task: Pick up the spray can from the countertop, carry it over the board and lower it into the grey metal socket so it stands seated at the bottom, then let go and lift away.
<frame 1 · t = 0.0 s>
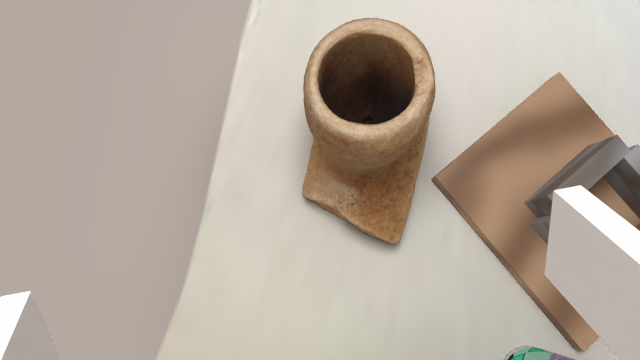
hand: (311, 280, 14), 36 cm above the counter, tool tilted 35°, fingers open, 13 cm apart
socket board: (562, 208, 53), on the counter
tan boot-shaped piece: (354, 150, 52), on the counter
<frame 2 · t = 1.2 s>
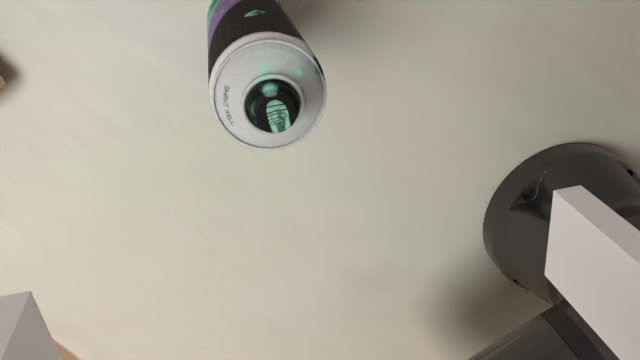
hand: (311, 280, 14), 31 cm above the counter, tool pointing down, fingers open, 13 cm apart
spray can: (245, 19, 41), on the counter
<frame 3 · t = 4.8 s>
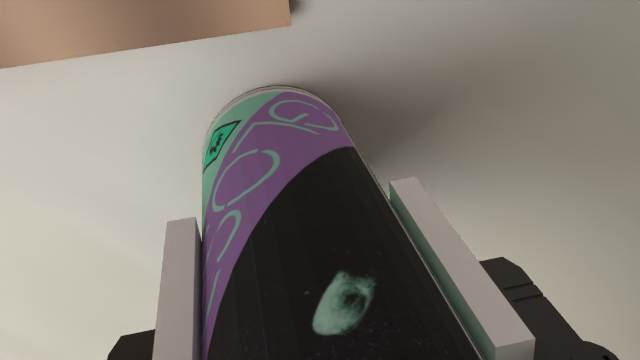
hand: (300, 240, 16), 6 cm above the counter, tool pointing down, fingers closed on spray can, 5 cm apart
spray can: (276, 153, 21), on the counter, touching gripper
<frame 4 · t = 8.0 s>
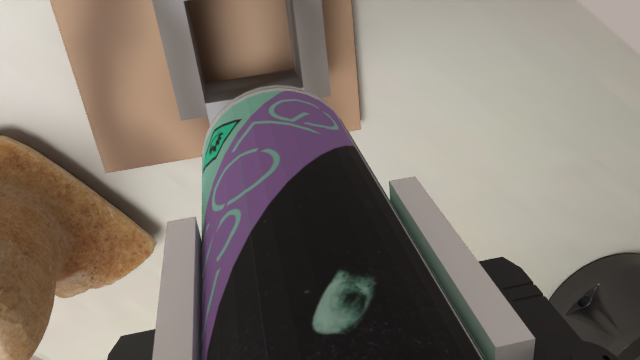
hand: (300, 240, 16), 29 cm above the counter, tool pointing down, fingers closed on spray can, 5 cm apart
socket board: (216, 44, 41), on the counter
tan boot-shaped piece: (38, 219, 45), on the counter
spray can: (276, 152, 21), point 23 cm above the counter, touching gripper
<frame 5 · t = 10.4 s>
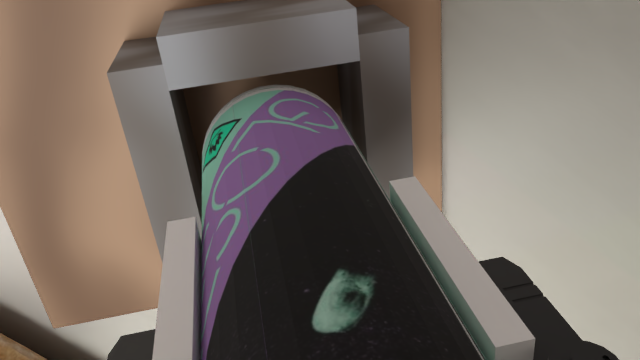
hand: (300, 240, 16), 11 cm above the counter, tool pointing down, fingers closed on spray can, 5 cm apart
socket board: (225, 134, 26), on the counter
spray can: (276, 152, 21), point 5 cm above the counter, touching gripper
when the fingers open (8 cm above the counter, at t = 11.3 s): spray can stays where it is, resting on socket board.
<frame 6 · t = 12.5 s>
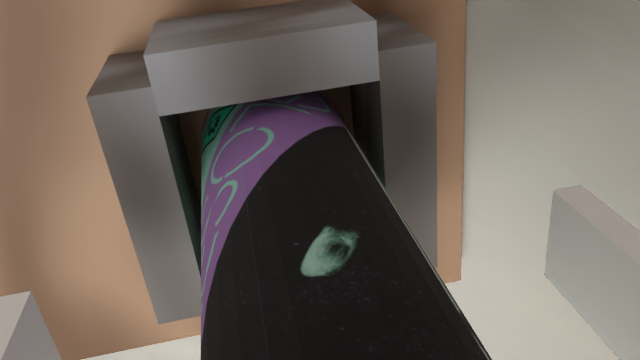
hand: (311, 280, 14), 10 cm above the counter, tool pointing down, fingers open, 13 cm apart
socket board: (224, 155, 24), on the counter
spray can: (271, 137, 22), point 1 cm above the counter, touching socket board
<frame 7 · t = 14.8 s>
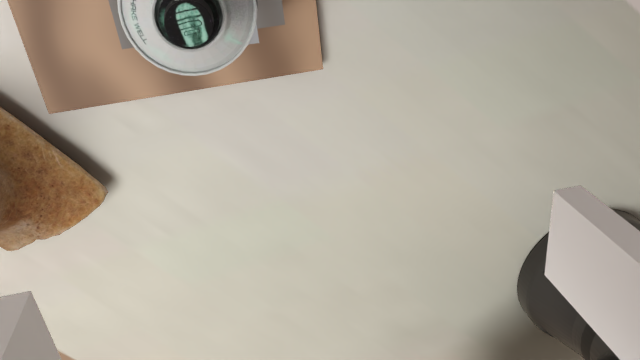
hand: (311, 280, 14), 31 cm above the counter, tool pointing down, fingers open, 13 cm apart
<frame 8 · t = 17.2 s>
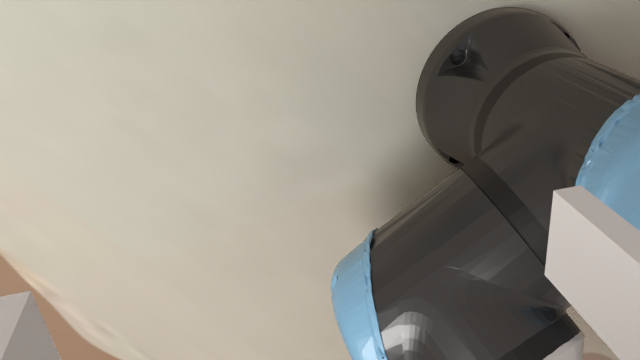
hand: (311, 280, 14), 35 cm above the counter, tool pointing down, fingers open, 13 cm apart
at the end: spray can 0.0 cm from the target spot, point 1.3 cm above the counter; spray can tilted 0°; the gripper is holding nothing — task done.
